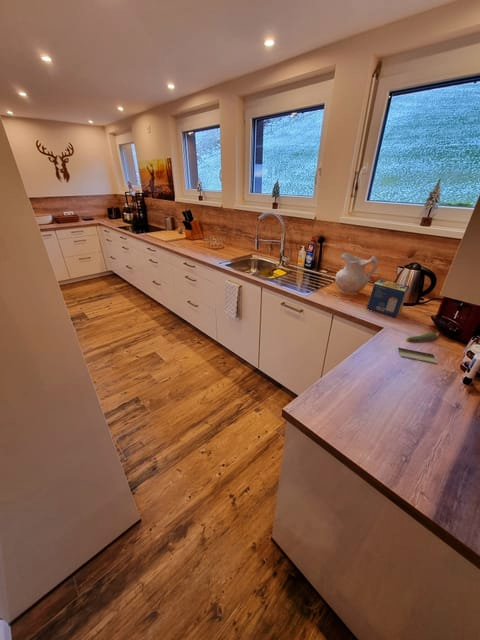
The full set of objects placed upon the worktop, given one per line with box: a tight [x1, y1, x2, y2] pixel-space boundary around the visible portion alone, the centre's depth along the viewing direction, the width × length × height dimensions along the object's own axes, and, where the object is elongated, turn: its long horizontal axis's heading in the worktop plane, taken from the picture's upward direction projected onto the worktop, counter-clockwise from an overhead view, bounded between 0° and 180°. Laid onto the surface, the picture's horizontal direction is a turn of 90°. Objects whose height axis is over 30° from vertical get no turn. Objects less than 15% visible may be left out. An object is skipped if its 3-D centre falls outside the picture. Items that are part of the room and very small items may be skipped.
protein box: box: [366, 278, 410, 319], centre depth 142 cm, size 10×15×16 cm
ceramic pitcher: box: [335, 252, 379, 296], centre depth 164 cm, size 22×20×25 cm
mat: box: [397, 347, 438, 365], centre depth 110 cm, size 13×11×1 cm
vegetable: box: [405, 331, 440, 344], centre depth 117 cm, size 4×4×20 cm
